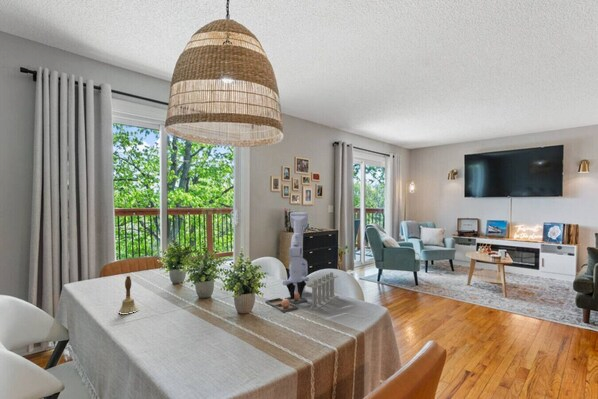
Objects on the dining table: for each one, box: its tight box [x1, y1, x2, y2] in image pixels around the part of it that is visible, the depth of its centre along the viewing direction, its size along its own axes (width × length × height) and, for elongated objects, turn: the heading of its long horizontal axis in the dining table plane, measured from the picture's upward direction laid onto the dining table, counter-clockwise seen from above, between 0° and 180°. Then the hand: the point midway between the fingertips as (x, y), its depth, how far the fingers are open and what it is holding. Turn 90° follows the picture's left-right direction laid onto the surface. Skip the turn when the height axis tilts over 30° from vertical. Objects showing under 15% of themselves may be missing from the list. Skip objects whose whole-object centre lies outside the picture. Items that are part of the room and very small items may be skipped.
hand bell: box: [118, 275, 139, 313], centre depth 141 cm, size 8×8×16 cm
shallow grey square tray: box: [284, 296, 308, 305], centre depth 155 cm, size 8×8×2 cm
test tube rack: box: [307, 271, 339, 311], centre depth 153 cm, size 25×4×13 cm, turn 149°
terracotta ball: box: [293, 292, 300, 301], centre depth 155 cm, size 4×4×4 cm
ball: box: [281, 298, 290, 308], centre depth 144 cm, size 4×4×4 cm
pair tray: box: [265, 297, 299, 313], centre depth 147 cm, size 16×8×2 cm, turn 35°
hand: (296, 297), depth 155 cm, fingers closed on terracotta ball, 4 cm apart
